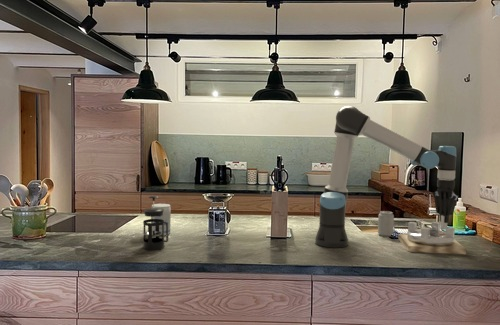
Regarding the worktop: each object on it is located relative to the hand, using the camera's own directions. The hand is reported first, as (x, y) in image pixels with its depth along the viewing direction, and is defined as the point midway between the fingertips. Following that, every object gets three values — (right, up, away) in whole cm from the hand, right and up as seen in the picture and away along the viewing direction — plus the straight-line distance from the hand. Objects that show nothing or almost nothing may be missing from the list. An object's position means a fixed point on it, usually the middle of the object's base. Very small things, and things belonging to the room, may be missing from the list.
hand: (443, 229), depth 201 cm
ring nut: (-7, -5, -3) cm, 9 cm away
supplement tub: (-135, -5, +14) cm, 136 cm away
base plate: (-8, -7, -3) cm, 11 cm away
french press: (-133, -7, -11) cm, 134 cm away
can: (-22, -6, +18) cm, 29 cm away
